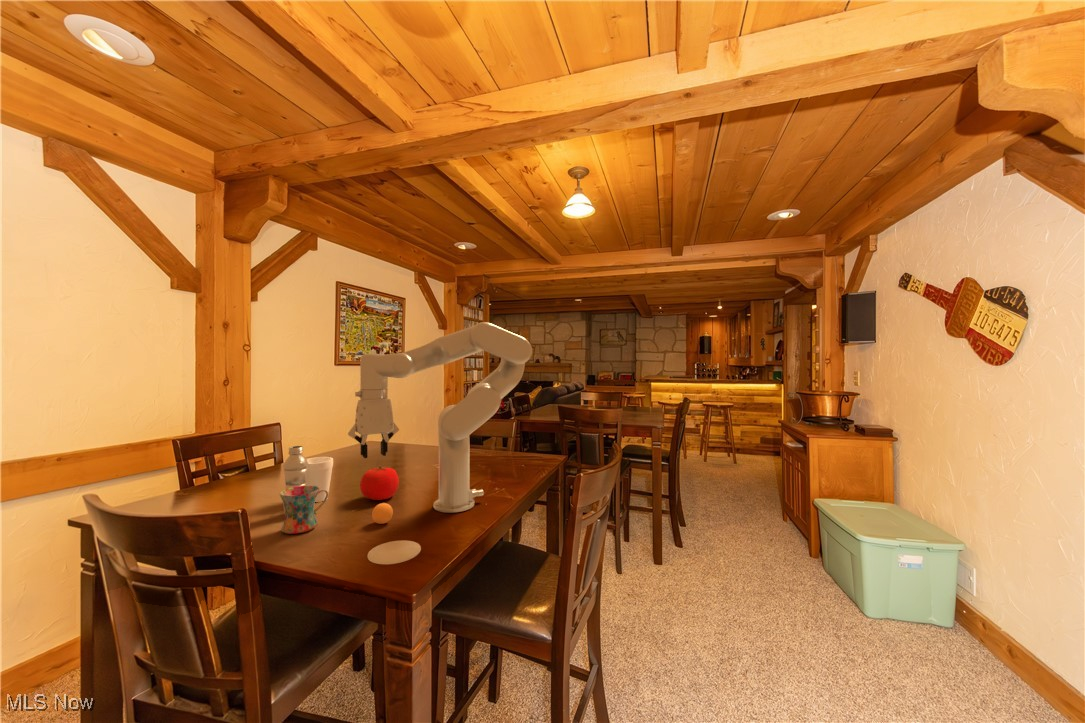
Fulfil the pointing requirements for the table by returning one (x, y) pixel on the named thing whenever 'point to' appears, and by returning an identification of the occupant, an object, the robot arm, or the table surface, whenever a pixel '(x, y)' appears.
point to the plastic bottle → (295, 468)
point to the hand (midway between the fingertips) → (374, 455)
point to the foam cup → (319, 475)
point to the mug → (300, 508)
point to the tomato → (379, 483)
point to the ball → (382, 513)
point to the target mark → (394, 552)
